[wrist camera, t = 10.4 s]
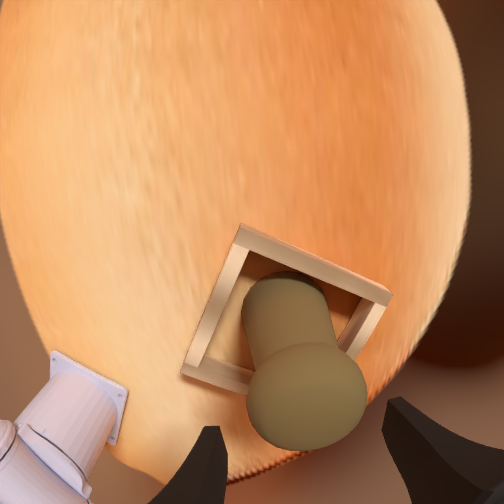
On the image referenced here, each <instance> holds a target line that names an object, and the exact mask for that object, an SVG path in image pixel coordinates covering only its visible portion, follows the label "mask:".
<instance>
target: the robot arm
mask: <svg viewBox="0 0 504 504" xmlns="http://www.w3.org/2000/svg"><path fill="white" fill-rule="evenodd" d="M55 359H56V360H55ZM120 394H121V395H120ZM122 395H123V396H122ZM127 395H128V390H127V389H126V388H125V387H123V386H121V385H119V384H117V383H115V382H113V381H111V380H109V379H107V378H105V377H103V376H101V375H99V374H97V373H95V372H93V371H91V370H89V369H88V368H86V367H84V366H82V365H80V364H78V363H77V362H75V361H73V360H71V359H70V358H68V357H66V356H65V355H63V354H61V353H59V352H58V351H56V350H53V351H52V352H51V358H50V381H49V382H48V383H47V384H46V385H45V386H44V387H43V388H42V389H41V391H40V392H39V393H38V394H37V395H36V396H35V398H34V399H33V400H32V401H31V403H30V404H29V405H28V406H27V407H26V408H25V410H24V411H23V412H22V413H21V415H20V416H19V417H18V418H17V419H16V421H15V422H14V423H13V424H12V423H11V422H10V421H8V420H0V504H94V503H93V502H92V501H91V499H90V498H89V496H90V493H91V491H92V488H91V487H90V486H89V485H88V484H87V480H88V479H89V477H90V475H91V473H92V471H93V469H94V467H95V465H96V463H97V461H98V459H99V456H100V454H101V452H102V450H103V448H104V446H105V444H106V443H109V444H111V445H116V443H117V439H118V434H119V429H120V425H121V420H122V416H123V412H124V408H125V403H126V399H127ZM382 433H383V436H384V439H385V442H386V445H387V448H388V450H389V452H390V454H391V456H392V458H393V460H394V462H395V464H396V466H397V468H398V470H399V472H400V474H401V476H402V478H403V480H404V482H405V484H406V487H407V489H408V492H409V495H410V498H411V501H412V504H504V450H502V449H497V448H492V447H488V446H485V445H482V444H478V443H476V442H473V441H470V440H468V439H465V438H464V437H461V436H459V435H457V434H455V433H453V432H451V431H449V430H448V429H446V428H444V427H442V426H441V425H439V424H438V423H436V422H435V421H433V420H432V419H430V418H429V417H427V416H426V415H425V414H423V413H422V412H420V411H419V410H418V409H416V408H415V407H414V406H412V405H411V404H410V403H408V402H407V401H406V400H405V399H403V398H402V397H396V398H393V399H389V400H388V402H387V408H386V412H385V417H384V422H383V426H382ZM227 475H228V453H227V450H226V447H225V443H224V440H223V437H222V433H221V430H220V426H205V427H204V428H203V429H202V431H201V433H200V435H199V437H198V439H197V441H196V443H195V445H194V446H193V448H192V450H191V452H190V453H189V455H188V456H187V458H186V460H185V461H184V463H183V464H182V466H181V467H180V468H179V470H178V471H177V472H176V474H175V475H174V476H173V478H172V479H171V480H170V481H169V483H168V484H167V485H166V486H165V487H164V488H163V489H162V490H161V491H160V492H159V493H158V494H157V495H156V496H155V497H154V498H153V499H152V500H151V501H150V502H149V503H148V504H224V497H225V490H226V483H227Z"/></svg>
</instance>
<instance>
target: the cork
mask: <svg viewBox="0 0 504 504" xmlns="http://www.w3.org/2000/svg"><path fill="white" fill-rule="evenodd" d="M241 313H242V319H243V325H244V329H245V333H246V337H247V341H248V344H249V348H250V352H251V356H252V360H253V363H254V367H255V373H254V374H253V376H252V379H251V381H250V384H249V388H248V392H247V399H246V405H247V410H248V415H249V419H250V421H251V424H252V426H253V427H254V428H255V430H256V431H257V432H258V434H259V435H260V436H261V437H262V438H263V439H264V440H266V441H267V442H269V443H270V444H272V445H274V446H275V447H278V448H282V449H285V450H289V451H308V450H314V449H320V448H323V447H325V446H328V445H330V444H333V443H335V442H337V441H338V440H340V439H342V438H343V437H345V436H346V435H347V434H349V432H351V431H352V430H353V429H354V428H355V427H356V426H357V424H358V422H359V421H360V419H361V417H362V415H363V413H364V410H365V407H366V401H367V386H366V382H365V379H364V376H363V374H362V371H361V370H360V368H359V366H358V365H357V364H356V363H355V362H354V361H353V360H352V359H351V358H350V357H349V355H347V354H346V353H345V352H344V351H342V350H341V349H339V348H338V344H337V340H336V336H335V332H334V328H333V324H332V320H331V317H330V313H329V309H328V305H327V302H326V299H325V296H324V294H323V292H322V289H321V288H320V287H319V286H318V285H317V284H316V283H315V281H314V280H312V279H310V278H309V277H307V276H305V275H303V274H301V273H295V272H289V271H286V272H278V273H273V274H270V275H268V276H266V277H264V278H262V279H260V280H259V281H258V282H257V283H256V284H254V285H253V286H252V287H251V288H250V290H249V291H248V293H247V295H246V296H245V298H244V301H243V306H242V311H241Z"/></svg>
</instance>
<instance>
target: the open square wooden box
mask: <svg viewBox="0 0 504 504" xmlns="http://www.w3.org/2000/svg"><path fill="white" fill-rule="evenodd" d="M249 250H251V251H253V252H256V253H258V254H260V255H263V256H265V257H268V258H270V259H272V260H275V261H277V262H280V263H282V264H284V265H287V266H289V267H291V268H294V269H296V270H299V271H301V272H303V273H306V274H308V275H311V276H313V277H315V278H318V279H320V280H323V281H325V282H327V283H330V284H332V285H334V286H337V287H339V288H342V289H344V290H346V291H349V292H351V293H354V294H356V295H358V296H361V297H362V299H361V300H360V302H359V304H358V306H357V308H356V310H355V311H354V313H353V315H352V317H351V319H350V320H349V322H348V324H347V326H346V327H345V329H344V331H343V333H342V334H341V336H340V338H339V339H338V341H337V344H338V348H339V349H341V350H342V351H344V352H345V353H346V354H347V355H349V357H350V358H351V359H352V360H353V361H355V359H356V358H357V356H358V354H359V353H360V351H361V350H362V348H363V346H364V345H365V343H366V342H367V340H368V338H369V337H370V335H371V333H372V332H373V330H374V328H375V326H376V325H377V323H378V321H379V319H380V318H381V316H382V314H383V312H384V311H385V309H386V307H387V305H388V303H389V301H390V300H391V298H392V296H393V294H392V293H391V292H390V291H389V290H388V289H386V288H385V287H384V286H383V285H381V284H379V283H377V282H375V281H372V280H370V279H368V278H366V277H364V276H361V275H359V274H357V273H355V272H353V271H350V270H348V269H346V268H344V267H341V266H339V265H337V264H335V263H332V262H330V261H328V260H326V259H323V258H321V257H319V256H317V255H314V254H312V253H310V252H307V251H305V250H303V249H301V248H298V247H296V246H294V245H291V244H289V243H287V242H284V241H282V240H280V239H278V238H275V237H273V236H271V235H268V234H266V233H264V232H261V231H259V230H257V229H254V228H252V227H249V226H247V225H245V224H242V223H241V224H240V227H239V229H238V231H237V234H236V236H235V238H234V241H233V243H232V245H231V248H230V250H229V253H228V255H227V257H226V260H225V262H224V264H223V267H222V269H221V272H220V274H219V276H218V279H217V281H216V284H215V286H214V288H213V291H212V293H211V296H210V298H209V300H208V303H207V305H206V308H205V310H204V313H203V315H202V318H201V320H200V322H199V325H198V327H197V330H196V332H195V335H194V337H193V340H192V342H191V345H190V347H189V350H188V352H187V355H186V357H185V360H184V363H183V366H182V369H181V372H180V373H183V374H185V375H188V376H191V377H193V378H196V379H199V380H201V381H204V382H207V383H210V384H212V385H215V386H218V387H221V388H224V389H227V390H230V391H233V392H236V393H239V394H242V395H246V396H247V392H248V388H249V384H250V381H251V379H252V376H253V374H254V373H255V372H254V371H251V370H248V369H245V368H242V367H239V366H237V365H234V364H231V363H228V362H225V361H222V360H220V359H217V358H214V357H212V356H209V355H206V354H204V352H205V350H206V348H207V346H208V343H209V341H210V339H211V336H212V334H213V332H214V330H215V327H216V325H217V323H218V320H219V318H220V316H221V313H222V311H223V309H224V307H225V304H226V302H227V300H228V297H229V295H230V293H231V291H232V288H233V286H234V284H235V282H236V279H237V277H238V275H239V272H240V270H241V268H242V266H243V263H244V261H245V259H246V256H247V254H248V252H249Z"/></svg>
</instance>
